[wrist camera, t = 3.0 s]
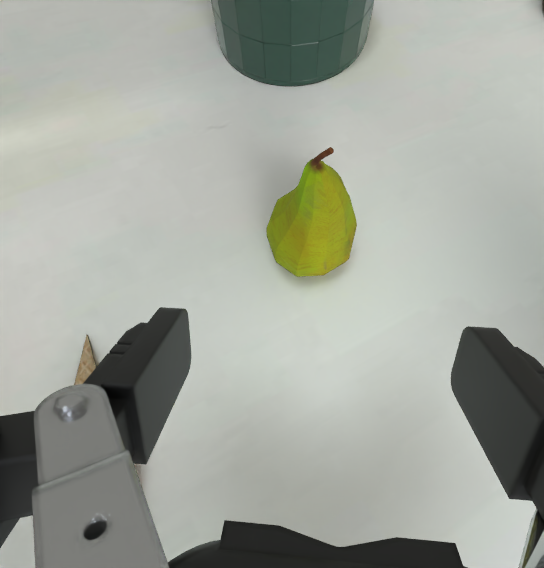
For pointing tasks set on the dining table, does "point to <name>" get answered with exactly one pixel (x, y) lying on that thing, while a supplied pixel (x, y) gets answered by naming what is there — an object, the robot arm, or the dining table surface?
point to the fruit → (313, 222)
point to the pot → (291, 37)
